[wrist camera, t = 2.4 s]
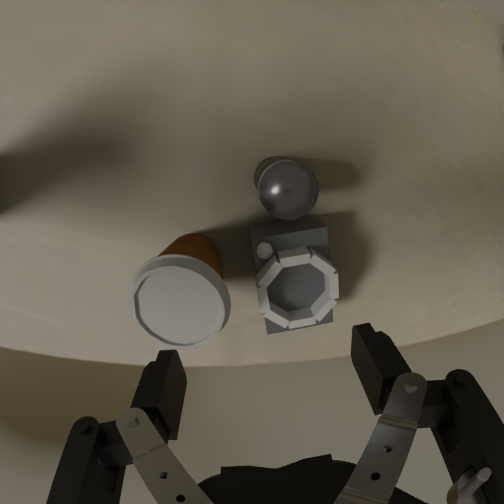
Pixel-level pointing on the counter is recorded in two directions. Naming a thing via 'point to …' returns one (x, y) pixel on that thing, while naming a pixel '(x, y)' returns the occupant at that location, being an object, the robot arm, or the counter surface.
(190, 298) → the disposable coffee cup
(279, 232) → the grey octagonal socket block
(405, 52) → the counter surface
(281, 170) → the thermos
